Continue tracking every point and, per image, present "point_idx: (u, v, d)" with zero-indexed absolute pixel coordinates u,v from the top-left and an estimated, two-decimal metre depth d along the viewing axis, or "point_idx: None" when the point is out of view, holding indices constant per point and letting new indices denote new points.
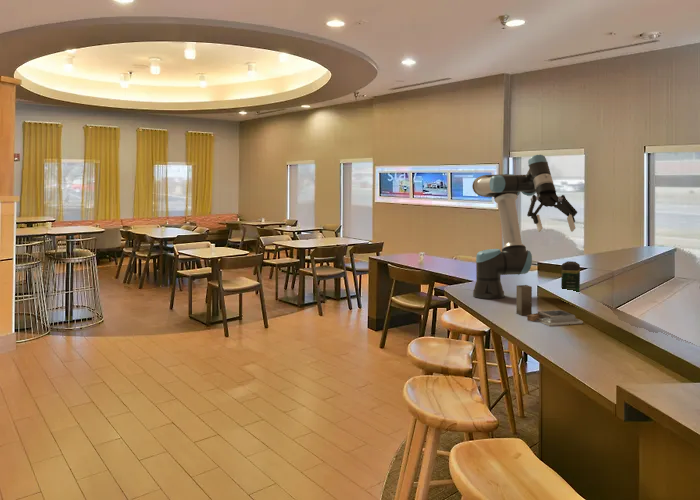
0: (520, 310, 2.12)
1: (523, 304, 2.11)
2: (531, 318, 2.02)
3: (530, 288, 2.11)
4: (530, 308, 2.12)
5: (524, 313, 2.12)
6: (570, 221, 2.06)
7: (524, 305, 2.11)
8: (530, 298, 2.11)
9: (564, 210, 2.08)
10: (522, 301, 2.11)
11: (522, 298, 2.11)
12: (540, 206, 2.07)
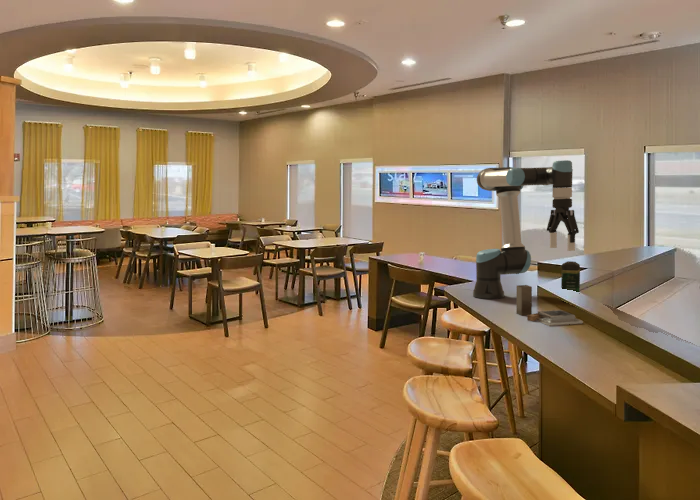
0: (520, 310, 2.12)
1: (523, 304, 2.11)
2: (531, 318, 2.02)
3: (530, 288, 2.11)
4: (530, 308, 2.12)
5: (524, 313, 2.12)
6: (554, 239, 2.19)
7: (524, 305, 2.11)
8: (530, 298, 2.11)
9: (556, 226, 2.17)
10: (522, 301, 2.11)
11: (522, 298, 2.11)
12: None
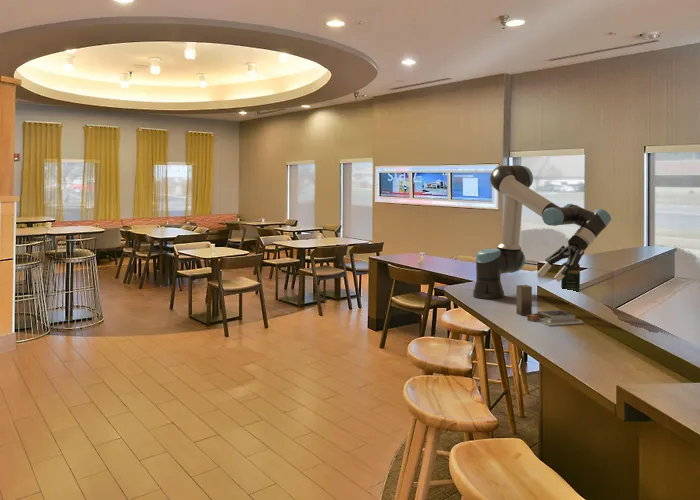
0: (520, 310, 2.12)
1: (523, 304, 2.11)
2: (531, 318, 2.02)
3: (530, 288, 2.11)
4: (530, 308, 2.12)
5: (524, 313, 2.12)
6: (546, 269, 2.20)
7: (524, 305, 2.11)
8: (530, 298, 2.11)
9: (555, 260, 2.19)
10: (522, 301, 2.11)
11: (522, 298, 2.11)
12: None
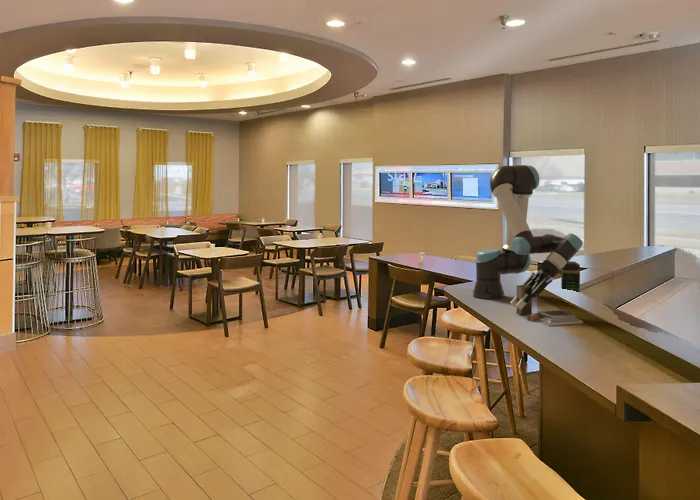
0: (520, 310, 2.12)
1: None
2: (531, 318, 2.02)
3: (530, 288, 2.11)
4: (530, 308, 2.12)
5: (524, 313, 2.12)
6: None
7: None
8: None
9: None
10: None
11: None
12: None
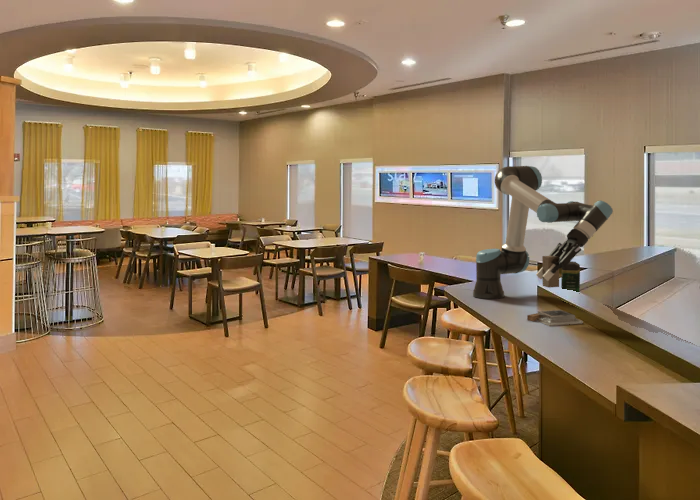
0: (546, 282, 2.00)
1: None
2: (531, 318, 2.02)
3: (557, 258, 1.99)
4: (557, 279, 2.00)
5: (552, 284, 1.99)
6: None
7: None
8: None
9: None
10: None
11: None
12: None
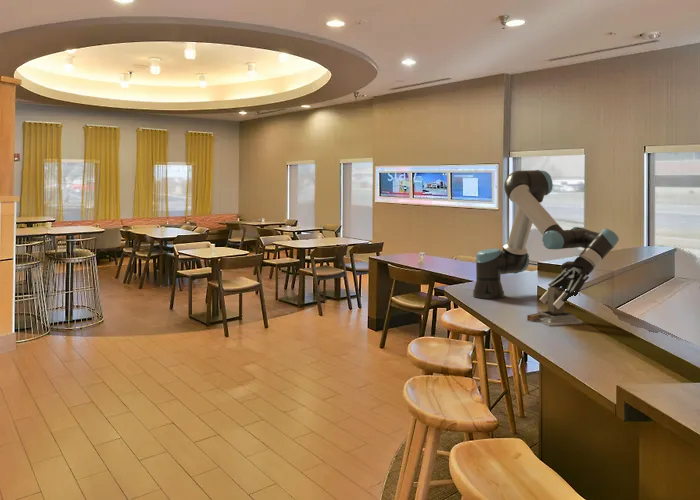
0: (552, 314, 2.00)
1: (555, 307, 1.99)
2: (531, 318, 2.02)
3: (563, 290, 1.98)
4: (563, 311, 1.99)
5: None
6: None
7: (556, 309, 1.99)
8: None
9: (559, 285, 2.05)
10: None
11: None
12: None
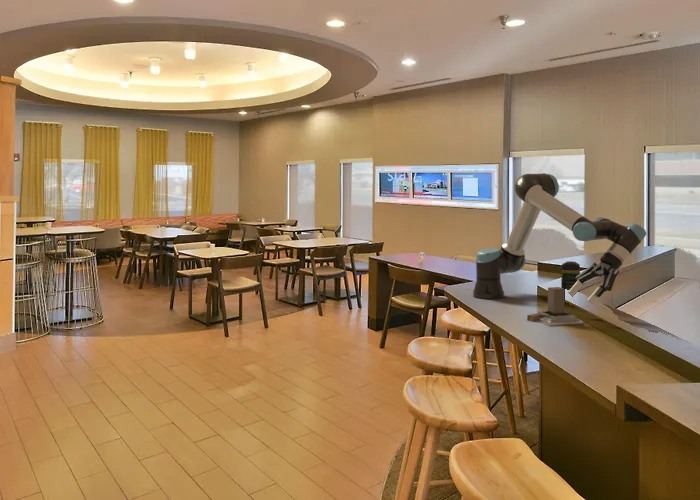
0: (552, 314, 2.00)
1: (555, 307, 1.99)
2: (531, 318, 2.02)
3: (563, 290, 1.98)
4: (563, 311, 1.99)
5: None
6: (577, 288, 2.09)
7: (556, 309, 1.99)
8: (563, 301, 1.99)
9: (587, 279, 2.08)
10: (554, 304, 1.98)
11: (555, 301, 1.98)
12: None
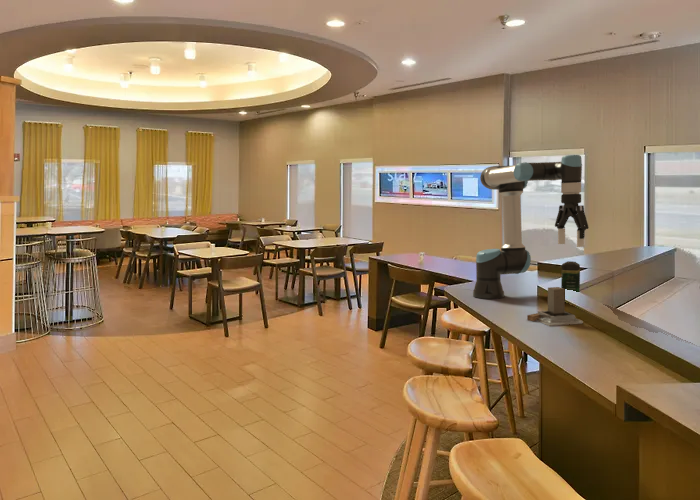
0: (552, 314, 2.00)
1: (555, 307, 1.99)
2: (531, 318, 2.02)
3: (563, 290, 1.98)
4: (563, 311, 1.99)
5: None
6: (563, 235, 2.15)
7: (556, 309, 1.99)
8: (563, 301, 1.99)
9: (564, 222, 2.13)
10: (554, 304, 1.98)
11: (555, 301, 1.98)
12: None
